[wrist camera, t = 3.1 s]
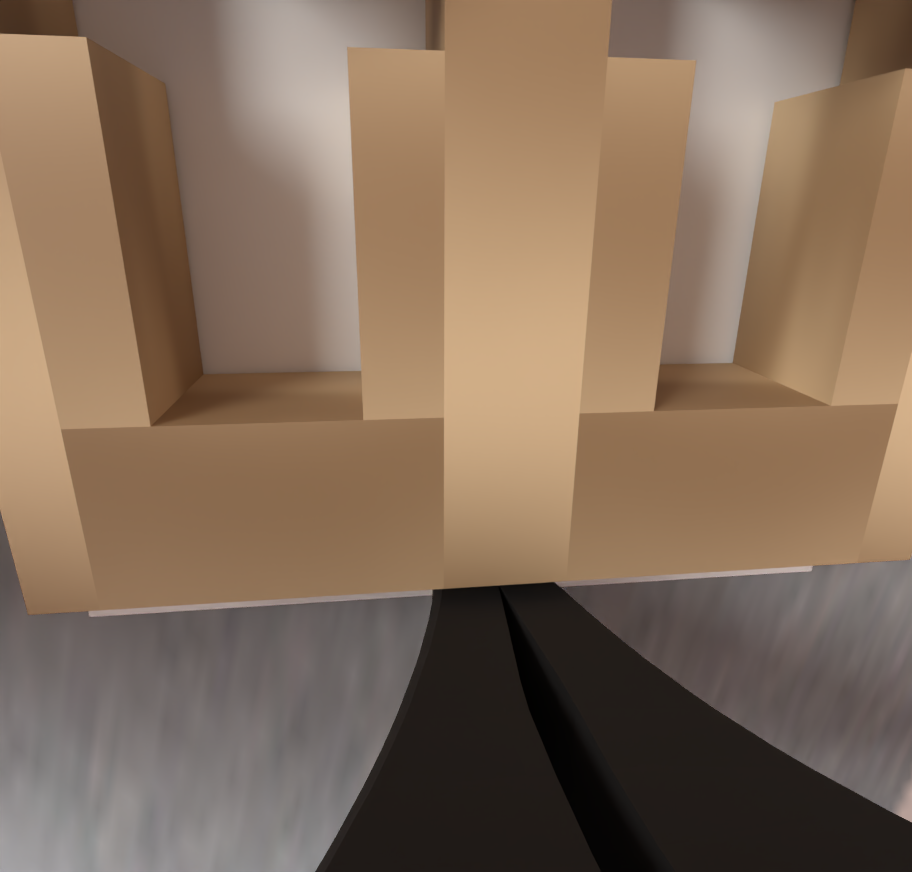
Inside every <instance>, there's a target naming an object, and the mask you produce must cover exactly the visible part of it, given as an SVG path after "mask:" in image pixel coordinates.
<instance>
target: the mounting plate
mask: <svg viewBox="0 0 912 872" xmlns="http://www.w3.org/2000/svg"><path fill="white" fill-rule="evenodd" d="M72 2H73V7H74V13H75V19H76V25H77V31H78V37H87V38H89V39H90V40H92V41H94V42H95V43H97V44H99V45H101V46H102V47H104V48H106V49H107V50H109V51H111V52H112V53H114V54H116V55H118V56H119V57H121V58H123V59H124V60H126V61H128V62H129V63H131V64H133V65H134V66H136V67H138V68H140V69H141V70H143V71H145V72H146V73H148V74H150V75H151V76H153V77H155V78H157V79H158V80H160V81H162V82H163V83H165V86H166V93H167V101H168V109H169V116H170V124H171V131H172V139H173V147H174V154H175V162H176V169H177V177H178V185H179V192H180V200H181V207H182V215H183V223H184V230H185V238H186V245H187V253H188V261H189V268H190V276H191V283H192V291H193V299H194V306H195V314H196V321H197V329H198V337H199V344H200V352H201V360H202V367H203V374H239V373H286V372H332V371H361V354H360V331H359V309H358V286H357V263H356V240H355V217H354V194H353V172H352V149H351V126H350V103H349V80H348V57H347V47H360V48H386V49H412V50H426V18H425V0H72ZM855 2H856V0H612V10H611V22H610V35H609V48H608V57H621V58H647V59H673V60H696V68H695V77H694V85H693V93H692V101H691V110H690V118H689V126H688V134H687V143H686V151H685V159H684V167H683V176H682V184H681V192H680V200H679V209H678V217H677V225H676V233H675V242H674V250H673V258H672V266H671V275H670V283H669V291H668V299H667V308H666V316H665V324H664V332H663V341H662V349H661V357H660V364H706V363H733V357H734V351H735V345H736V339H737V332H738V326H739V320H740V314H741V308H742V301H743V295H744V289H745V283H746V277H747V270H748V264H749V258H750V252H751V246H752V239H753V233H754V227H755V221H756V215H757V208H758V202H759V196H760V190H761V184H762V177H763V171H764V165H765V159H766V153H767V146H768V140H769V134H770V128H771V122H772V115H773V109H774V103H775V102H778V101H781V100H785V99H789V98H793V97H797V96H801V95H805V94H809V93H812V92H816V91H820V90H824V89H828V88H832V87H836V86H839V85H840V80H841V75H842V70H843V64H844V59H845V54H846V49H847V44H848V38H849V33H850V28H851V23H852V17H853V12H854V7H855ZM812 567H813V566H801V567H785V568H769V569H753V570H737V571H721V572H705V573H689V574H673V575H657V576H641V577H625V578H609V579H593V580H577V581H561V582H555V583H556V584H557V585H558V586H559V587H569V586H585V585H600V584H616V583H632V582H648V581H663V580H679V579H695V578H710V577H726V576H742V575H757V574H773V573H789V572H804V571H812ZM428 595H432V590H418V591H402V592H386V593H370V594H354V595H338V596H322V597H306V598H290V599H274V600H258V601H242V602H226V603H210V604H194V605H178V606H162V607H146V608H131V609H115V610H99V611H88V612H89V617H98V616H114V615H130V614H146V613H161V612H177V611H193V610H208V609H224V608H240V607H255V606H271V605H287V604H302V603H318V602H334V601H349V600H365V599H381V598H397V597H412V596H428Z"/></svg>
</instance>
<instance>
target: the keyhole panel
mask: <svg viewBox="0 0 912 872" xmlns="http://www.w3.org/2000/svg"><path fill="white" fill-rule="evenodd" d="M611 10H612V0H425V18H426V50H412V49H386V48H360V47H347V57H348V80H349V103H350V126H351V149H352V172H353V194H354V217H355V240H356V263H357V286H358V309H359V331H360V354H361V371H332V372H286V373H239V374H203V367H202V360H201V352H200V344H199V337H198V329H197V321H196V314H195V306H194V299H193V291H192V283H191V276H190V268H189V261H188V253H187V245H186V238H185V230H184V223H183V215H182V207H181V200H180V192H179V185H178V177H177V169H176V162H175V154H174V147H173V139H172V131H171V124H170V116H169V109H168V101H167V93H166V86H165V83H163V82H162V81H160V80H158V79H157V78H155V77H153V76H151V75H150V74H148V73H146V72H145V71H143V70H141V69H140V68H138V67H136V66H134V65H133V64H131V63H129V62H128V61H126V60H124V59H123V58H121V57H119V56H118V55H116V54H114V53H112V52H111V51H109V50H107V49H106V48H104V47H102V46H101V45H99V44H97V43H95V42H94V41H92V40H90V39H89V38H87V37H78V31H77V25H76V19H75V13H74V7H73V2H72V0H0V511H1V514H2V518H3V522H4V526H5V530H6V533H7V537H8V541H9V545H10V548H11V552H12V556H13V560H14V564H15V567H16V571H17V575H18V579H19V583H20V586H21V590H22V594H23V598H24V601H25V605H26V609H27V613H28V615H35V614H51V613H67V612H83V611H99V610H115V609H131V608H146V607H162V606H178V605H194V604H210V603H226V602H242V601H258V600H274V599H290V598H306V597H322V596H338V595H354V594H370V593H386V592H402V591H418V590H434V589H450V588H466V587H481V586H497V585H513V584H529V583H545V582H561V581H577V580H593V579H609V578H625V577H641V576H657V575H673V574H689V573H705V572H721V571H737V570H753V569H769V568H785V567H801V566H816V565H832V564H848V563H864V562H880V561H896V560H910V558H911V554H912V0H856V2H855V7H854V12H853V17H852V23H851V28H850V33H849V38H848V44H847V49H846V54H845V59H844V64H843V70H842V75H841V80H840V85H839V86H836V87H832V88H828V89H824V90H820V91H816V92H812V93H809V94H805V95H801V96H797V97H793V98H789V99H785V100H781V101H778V102H775V103H774V109H773V115H772V122H771V128H770V134H769V140H768V146H767V153H766V159H765V165H764V171H763V177H762V184H761V190H760V196H759V202H758V208H757V215H756V221H755V227H754V233H753V239H752V246H751V252H750V258H749V264H748V270H747V277H746V283H745V289H744V295H743V301H742V308H741V314H740V320H739V326H738V332H737V339H736V345H735V351H734V357H733V363H706V364H660V357H661V349H662V341H663V332H664V324H665V316H666V308H667V299H668V291H669V283H670V275H671V266H672V258H673V250H674V242H675V233H676V225H677V217H678V209H679V200H680V192H681V184H682V176H683V167H684V159H685V151H686V143H687V134H688V126H689V118H690V110H691V101H692V93H693V85H694V77H695V68H696V60H673V59H647V58H621V57H608V48H609V35H610V22H611Z"/></svg>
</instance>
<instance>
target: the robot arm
mask: <svg viewBox="0 0 912 872" xmlns="http://www.w3.org/2000/svg"><path fill="white" fill-rule="evenodd" d="M315 872H912V822H910V821H908V820H906V819H904V818H902V817H900V816H898V815H896V814H894V813H892V812H890V811H888V810H886V809H884V808H882V807H881V806H879V805H877V804H875V803H873V802H871V801H870V800H868V799H866V798H864V797H862V796H860V795H859V794H857V793H855V792H853V791H851V790H850V789H848V788H846V787H844V786H842V785H840V784H839V783H837V782H835V781H833V780H831V779H829V778H828V777H826V776H824V775H822V774H820V773H818V772H817V771H815V770H813V769H811V768H809V767H808V766H806V765H804V764H803V763H801V762H799V761H797V760H796V759H794V758H792V757H791V756H789V755H787V754H786V753H784V752H782V751H780V750H779V749H777V748H775V747H774V746H772V745H770V744H769V743H767V742H766V741H764V740H763V739H761V738H759V737H758V736H756V735H755V734H753V733H752V732H750V731H748V730H747V729H745V728H744V727H742V726H741V725H739V724H737V723H736V722H734V721H733V720H731V719H730V718H728V717H726V716H725V715H723V714H722V713H720V712H719V711H717V710H715V709H714V708H713V707H711V706H710V705H708V704H707V703H705V702H704V701H702V700H701V699H699V698H698V697H696V696H695V695H694V694H692V693H691V692H689V691H688V690H686V689H685V688H684V687H682V686H681V685H680V684H678V683H677V682H676V681H674V680H673V679H672V678H670V677H669V676H668V675H666V674H665V673H663V672H662V671H661V670H659V669H658V668H657V667H655V666H654V665H653V664H651V663H650V662H649V661H647V660H646V659H645V658H643V657H642V656H641V655H640V654H638V653H637V652H636V651H635V650H633V649H632V648H631V647H629V646H628V645H627V644H626V643H624V642H623V641H622V640H621V639H619V638H618V637H617V636H616V635H615V634H613V633H612V632H611V631H610V630H609V629H607V628H606V627H605V626H604V625H603V624H601V623H600V622H599V621H598V620H597V619H596V618H594V617H593V616H592V615H591V614H590V613H589V612H587V611H586V610H585V609H584V608H583V607H582V606H581V605H579V604H578V603H577V602H576V601H575V600H574V599H573V598H572V597H570V596H569V595H568V594H567V593H566V592H565V591H564V590H563V589H561V588H560V587H559V586H558V585H557V584H556V583H555V582H545V583H529V584H513V585H497V586H481V587H466V588H450V589H434V590H432V607H431V612H430V617H429V622H428V625H427V629H426V632H425V636H424V640H423V643H422V647H421V651H420V654H419V657H418V660H417V663H416V666H415V669H414V672H413V674H412V677H411V680H410V682H409V685H408V688H407V690H406V693H405V696H404V698H403V701H402V704H401V706H400V709H399V711H398V714H397V716H396V719H395V721H394V723H393V725H392V728H391V730H390V732H389V735H388V737H387V739H386V741H385V743H384V746H383V748H382V750H381V752H380V754H379V756H378V758H377V760H376V762H375V764H374V766H373V768H372V770H371V772H370V774H369V776H368V778H367V780H366V782H365V784H364V786H363V788H362V790H361V792H360V794H359V795H358V797H357V799H356V801H355V803H354V805H353V806H352V808H351V810H350V812H349V814H348V816H347V817H346V819H345V821H344V823H343V825H342V827H341V828H340V830H339V832H338V834H337V836H336V838H335V839H334V841H333V843H332V844H331V846H330V848H329V850H328V851H327V853H326V855H325V856H324V858H323V860H322V861H321V863H320V865H319V866H318V868H317V870H316V871H315Z"/></svg>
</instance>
